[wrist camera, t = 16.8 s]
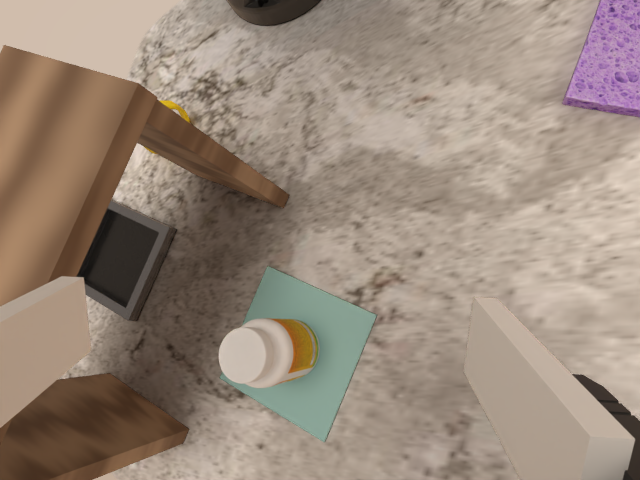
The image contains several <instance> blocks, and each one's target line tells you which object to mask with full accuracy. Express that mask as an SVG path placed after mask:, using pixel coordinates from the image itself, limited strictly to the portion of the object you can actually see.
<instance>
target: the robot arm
mask: <svg viewBox="0 0 640 480" xmlns="http://www.w3.org/2000/svg"><path fill="white" fill-rule="evenodd" d="M319 1H320V0H227V2H228V3H229V4H230V6H231V7H232V8H233V10H234V11H235V12H236V13H237V14H238V15H239V16H240V17H241V18H243V19H244V20H246V21H248V22H251V23H254V24H259V25H273V24H279V23H283V22H286V21H289V20H292V19H294V18H296V17H298V16H300V15H302V14H303V13H305V12H306V11H308V10H309V9H311V8H312V7H313V6H314V5H316V4H317V3H318V2H319ZM90 351H91V343H90V333H89V323H88V314H87V304H86V295H85V285H84V277H67V276H61V277H59V278H57V279H55V280H53V281H51V282H49V283H47V284H45V285H43V286H41V287H39V288H37V289H35V290H33V291H31V292H29V293H27V294H25V295H23V296H21V297H19V298H17V299H15V300H13V301H10V302H8V303H6V304H4V305H2V306H0V428H1V427H2V426H3V425H4V424H6V423H7V422H8V421H9V420H10V419H11V418H13V417H14V416H15V415H16V414H17V413H19V412H20V411H21V410H22V409H23V408H24V407H26V406H27V405H28V404H29V403H30V402H32V401H33V400H34V399H35V398H36V397H37V396H39V395H40V394H41V393H42V392H43V391H45V390H46V389H47V388H48V387H49V386H50V385H52V384H53V383H54V382H55V381H56V380H57V379H59V378H60V377H61V376H62V375H63V374H65V373H66V372H67V371H68V370H69V369H70V368H72V367H73V366H74V365H75V364H76V363H78V362H79V361H80V360H81V359H82V358H83V357H85V356H86V355H87V354H88V353H89V352H90ZM464 374H465V375H466V377H467V379H468V381H469V383H470V385H471V387H472V389H473V391H474V393H475V394H476V396H477V398H478V400H479V402H480V404H481V406H482V408H483V410H484V412H485V414H486V415H487V417H488V419H489V421H490V423H491V425H492V427H493V429H494V431H495V433H496V434H497V436H498V438H499V440H500V442H501V444H502V446H503V448H504V450H505V452H506V454H507V455H508V457H509V459H510V461H511V463H512V465H513V467H514V469H515V471H516V473H517V474H518V476H519V478H520V480H640V421H639V420H638V419H637V418H636V417H635V416H631V412H630V411H628V410H627V409H626V408H625V407H624V406H623V405H622V404H619V403H618V400H617V399H616V398H615V397H614V396H613V395H612V394H610V393H609V392H608V391H607V390H606V389H605V388H604V387H603V386H601V385H599V384H598V383H596V382H594V381H592V380H591V379H589V378H587V377H586V376H584V375H576V374H571V373H570V372H569V371H568V370H567V369H566V368H565V367H564V366H563V365H562V364H561V363H560V362H559V361H558V360H557V359H556V358H555V357H554V356H553V355H552V354H551V353H550V352H549V351H548V349H547V348H546V347H545V346H544V345H543V344H542V343H541V342H540V341H539V340H538V339H537V338H536V337H535V336H534V335H533V334H532V333H531V332H530V331H529V330H528V329H527V328H526V327H525V326H524V325H523V324H522V323H521V322H520V321H519V320H518V319H517V318H516V317H515V316H514V315H513V314H512V313H511V312H510V311H509V310H508V309H507V308H506V307H505V306H504V305H503V304H502V303H501V301H500V300H499V299H498V298H487V297H473V304H472V312H471V320H470V327H469V335H468V343H467V350H466V358H465V366H464Z"/></svg>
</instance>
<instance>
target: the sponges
mask: <svg viewBox="0 0 640 480" xmlns="http://www.w3.org/2000/svg"><path fill="white" fill-rule="evenodd" d="M562 104H564V105H569V106H575V107H582V108H588V109H596V110H600V111H605V112H613V113H618V114H624V115H630V116H637V117H640V0H600V3H599V6H598V9H597V11H596V14H595V17H594V20H593V23H592V25H591V28H590V31H589V34H588V36H587V39H586V42H585V44H584V47H583V50H582V53H581V55H580V57H579V60H578V63H577V66H576V68H575V71H574V73H573V76H572V79H571V81H570V84H569V86H568V89H567V92H566V94H565V97H564V100H563V103H562Z"/></svg>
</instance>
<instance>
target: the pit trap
mask: <svg viewBox="0 0 640 480" xmlns="http://www.w3.org/2000/svg"><path fill="white" fill-rule="evenodd" d="M176 230H177V229H174V228H172V227H170V226H168V225H166V224H163V223H161V222H159V221H157V220H155V219H152V218H150V217H148V216H146V215H144V214H142V213H139V212H137V211H135V210H133V209H131V208H128V207H126V206H124V205H122V204H120V203H118V202H115V201H113V200H111V201H110V203H109V206H108V208H107V210H106V212H105V214H104V217H103V219H102V221H101V223H100V226H99V228H98V230H97V232H96V234H95V237H94V239H93V241H92V243H91V245H90V248H89V250H88V252H87V254H86V257H85V259H84V261H83V263H82V265H81V268H80V270H79V272H78V274H77V276H76V277H84V285H85V294H86V295H87V296H89V297H91V298H92V299H94V300H96V301H97V302H99V303H100V304H102V305H104V306H105V307H107V308H109V309H110V310H112V311H114V312H115V313H117V314H118V315H120V316H122V317H123V318H125V319H127V320H128V321H137V319H138V316H139V314H140V312H141V310H142V307H143V305H144V303H145V300H146V298H147V296H148V294H149V291H150V289H151V287H152V285H153V282H154V280H155V278H156V276H157V273H158V271H159V269H160V266H161V264H162V262H163V260H164V257H165V255H166V253H167V251H168V248H169V246H170V244H171V242H172V239H173V237H174V235H175V233H176Z"/></svg>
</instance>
